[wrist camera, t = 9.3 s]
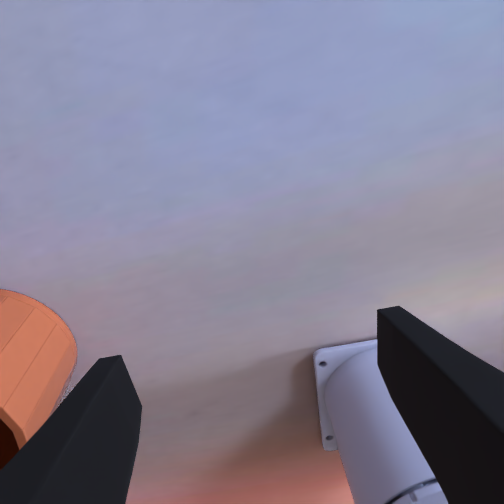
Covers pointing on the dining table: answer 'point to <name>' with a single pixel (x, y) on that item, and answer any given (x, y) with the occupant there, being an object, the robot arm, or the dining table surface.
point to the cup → (30, 368)
